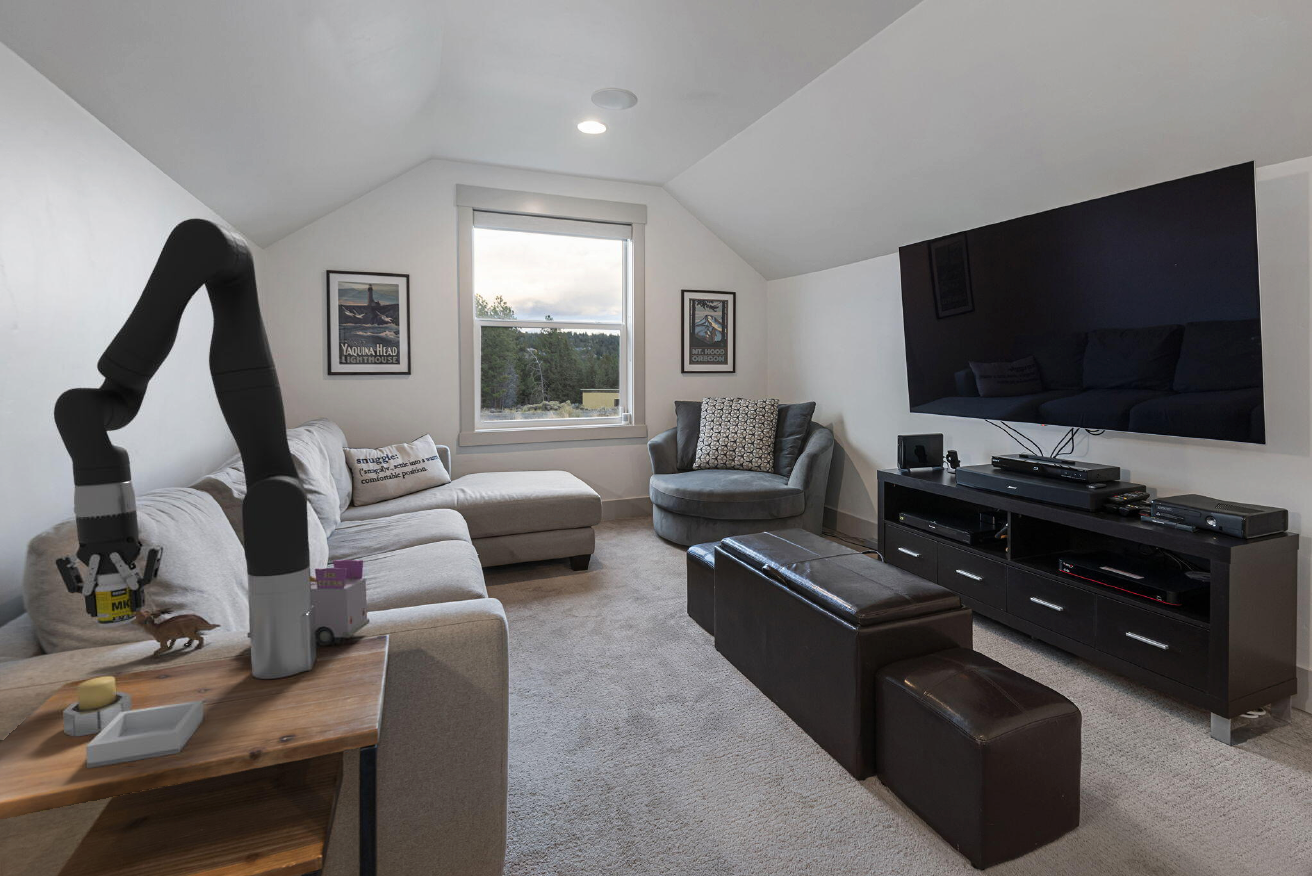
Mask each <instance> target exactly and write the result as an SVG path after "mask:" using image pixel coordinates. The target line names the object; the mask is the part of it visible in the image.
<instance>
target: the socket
mask: <svg viewBox="0 0 1312 876" xmlns="http://www.w3.org/2000/svg"><path fill="white" fill-rule="evenodd" d="M132 710H133V709H132V697H131V694H130V693H126V692H124V691H116V700H115V701H114V702H112V703H110V704H108V705H106V706H103V707H99V708H95V709H88V710H82V709H79V703H78V700H76V701H75V702H73V703H71V704H70V705H69V706H68V707H66V708H65V709H64V710H63V711H62V716H63V731H64V734H66V735H68V736H71V737H73V738H74V737H76V738H77V737H82V736H89V735H94V734H95V735H96V734H99V733H100V732H101V731H102V730H103V729H104V728H105V727H106V726H107V725H108V724H109V723H110V722H111V721H112V720H113V719H114V718H115V717H116V716H117V715H118V714H119V713H120V712H125V711H132Z"/></svg>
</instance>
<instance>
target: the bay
mask: <svg viewBox="0 0 1312 876" xmlns="http://www.w3.org/2000/svg"><path fill="white" fill-rule="evenodd" d="M203 703H204V701H203V700H194V701H187V702H180V703H174V704H166V705H160V706H152V707H148V708H147V707H146V708H140V709H134V710H133V709H132V711H125V712H120V713H119V714H118V715H117V716H116V717H115V718H114V719H113V720H112V721H111V722H110V723H109V724H108V725H107V726H106V727H105V728H104V729H103V730H102V731H101V732H99V733H97V735H95V737H94V738H93V739H92V740H91V741H90V742H89V743H88V744H87V745H86V746H85V751H86V752H85V753H86V755H85V756H86V767H87V769H93V768H98V767H103V766H110V765H114V764H120V763H121V764H122V763H127V762H131V761H132V762H133V761H140V760H144V759H151V758H158V757H161V756H167V755H175V754H180V753H181V751H182V750H183V749H184V747H185V746H186V744H187V743H188V741H189V740H190V739H191V737H192V736H193V735H194V733H195V732H196V730H197V729H198V727H199V726H200V725H201V724H202V722H203V720H204V704H203Z"/></svg>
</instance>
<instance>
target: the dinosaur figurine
mask: <svg viewBox="0 0 1312 876" xmlns="http://www.w3.org/2000/svg"><path fill="white" fill-rule="evenodd" d="M145 605H146V604H145ZM145 605H144V606H142V608H143V607H145ZM173 613H174V610H172V607H165V608H160V609H157V608H155V611H154V610H151V612H150V611H149V610H145V611H142V610H139V611H138V612H136V619H135V620H133V621H131V622H130V623H131V624H132V625H136V626H139V627H140V628H142V629H143V630H144V631H145V633H146V634H148V635H150V636H152V637H154V639H155V641H156V642H157V643H159V646H160V647H159V648H157V649H156V650H154V651H153V654H152V655H151V656H148V657H147V659H148V660H153V659H156V658H157V657H158V656H159V654H160V653H162V652H164V651H167V650H169V649H171V648H173V647H174V646H176V645H175V643H176V641H177V640H180V639H181V640H182V639H186V638H187V639H188V641H187V643H186V642H185V643H183V644H184V645H183V646H187V645H186V644H189V645H191V643H192V644H193V643H195V642H194V641H197V642H198V643H197V644H196V646H195V647H194V649H195V650H198V649H199V650H200V649H202V648H203V647H204V643H205V642H204V641H205V640H204V639H205V638H204V636H201V635H200V634H199V633H198V632H202V631H203V632H204V631H205V632H206V631H207V632H209V631H213V630H214V629H216V628H221V627H222V625H221V624H219V623H218V624H215V623H210V622H209V621H208V620H206V618H204V617H202V616H201V615H197V614H195V613H187V614H186V613H185V614H177V615H174V616H171V617H169V618H166V619H165V620H163V621H161V622H159V623H156V622H155V619H157V618H160V617H161V616H162V615H164V616H165V615H172V614H173ZM169 641H170V642H169ZM168 642H169V645H168ZM168 646H169V647H168ZM170 647H171V648H170ZM168 648H169V649H168Z"/></svg>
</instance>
